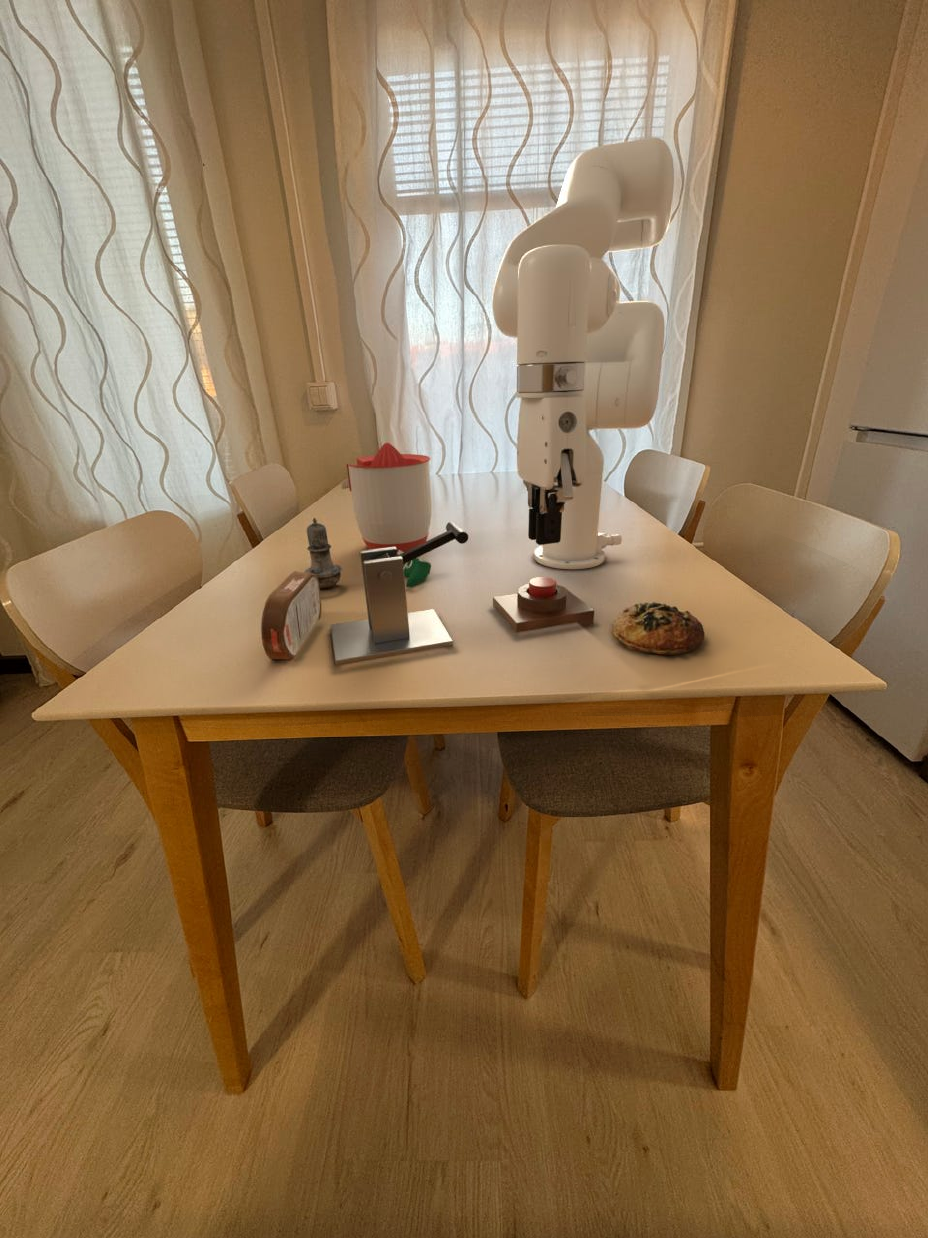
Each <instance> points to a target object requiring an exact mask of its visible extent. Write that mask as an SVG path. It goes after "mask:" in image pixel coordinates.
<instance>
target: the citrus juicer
mask: <svg viewBox="0 0 928 1238" xmlns="http://www.w3.org/2000/svg"><path fill="white" fill-rule="evenodd" d="M430 460H431V458H430V456H428V455H424V454H414V453H401V452H400V451H399V450H398V449H397V448H396V447H395V446H394V445H393V444H392V443H390V442H384V443H383V444H382V445H381V447H380V448H379V449H378V451H377V452H376V454H375V455H369V456H362V457H357V458H356V465H355V464H351V463H349V462H346V472H347V478H348V479H346V480H345V481H343V482H342V484H341V490H345V489H349V492H351V498H352V506H353V513H354V517H355V520H356V521H355V522H356V524H357V527H358V530H359V532H360V535H361V537H362V540H363V543H364V544H365V545H366V547H367V550H371V549H380V548H388V547H396V549H397V554H398V550H400V551H402V552H406V551H408V550H410V549H412V548H414V547H416V546H418V545H420V544H422V543H424V542H426V541H428V537H429V534H430V532H429V531H430V528H431V523H432V522H431V520H432V512H433V511H432V490H431V489H432V487H431V474H430V473H431V471H430Z"/></svg>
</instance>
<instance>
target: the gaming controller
mask: <svg viewBox="0 0 928 1238" xmlns="http://www.w3.org/2000/svg"><path fill="white" fill-rule="evenodd" d="M402 553H404V552H402V551H400V550H398V553H397V556H398V555H400V554H402ZM403 568H404V578H405V579H407V581H406V583H405V587H412V588H413V587H415V586H416V587H417V586H418V585H420V584H421V583H423V582H424V581H425V580H426V579H427V578H428V577H429V575H430V573H431V569H432V564H431V562H430V561H429V560H428V559H427V558H425V557H423V555H422V556H420V557H418V558H415V559H413V560H411V561H409V562H407V563H405V564H403Z"/></svg>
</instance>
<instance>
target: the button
mask: <svg viewBox="0 0 928 1238" xmlns="http://www.w3.org/2000/svg"><path fill="white" fill-rule="evenodd" d="M528 584H529V595H532V596H535V597H552V596H554V595H556V584H557V581H556V580H555V579H554V578H551V577H547V576H538V577H533V578H531V579H529V580H528Z"/></svg>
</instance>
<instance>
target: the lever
mask: <svg viewBox="0 0 928 1238" xmlns="http://www.w3.org/2000/svg"><path fill="white" fill-rule="evenodd" d="M445 530H446V531H443V532H442V533H441V534H438V535H437V536H434V537H432V538H430V539H427V540H426V542H424V543H422V544H420V545H418V546H416V547H414V548H412V549H410V550H408V551H406V552H404V553H402V554H400V555H398V556H396V557H400V556H401V557H402V559H403V564H405V563H407V562H409V561H411V560H413V559H415V558H418V559H419V558H420V557H421V556H422V557H423V556H424V555H426V554H428V553H429V552H431V551H433V550H436V549H438V548H439V547H442V546H444V545H446V544H449V543H450V542H452V541H454V540H455V541H456V542H457V543H458V544H462V545H463V544H465V543H467V542H468V541H469V534H468V533H467V532H466V531H465V530H464V529H463V528H462V527H461V526H460V525H458V524H457V523H456V522H455V521H449V522H447V523H446V525H445ZM384 558H390V557H389V555H388V554H387V553H385V554H383V555H381V556H379V557H377V558H375V559H384ZM375 559H373V560H375Z"/></svg>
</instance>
